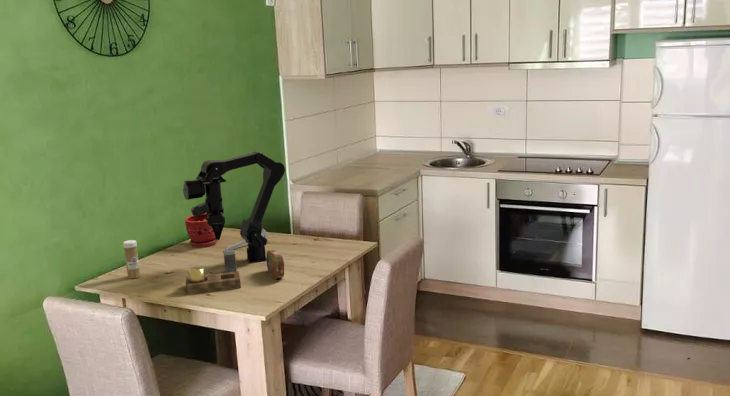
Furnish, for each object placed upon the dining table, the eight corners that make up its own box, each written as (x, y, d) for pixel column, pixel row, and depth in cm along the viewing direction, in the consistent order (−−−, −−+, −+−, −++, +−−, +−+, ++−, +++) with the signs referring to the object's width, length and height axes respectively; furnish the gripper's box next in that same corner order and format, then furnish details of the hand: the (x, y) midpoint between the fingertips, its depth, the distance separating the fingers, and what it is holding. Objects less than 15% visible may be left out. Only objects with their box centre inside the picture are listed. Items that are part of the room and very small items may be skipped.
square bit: (236, 269, 251) (234, 251, 249) (236, 272, 247) (235, 254, 246) (225, 270, 250) (223, 252, 249) (225, 273, 246) (223, 255, 245)
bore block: (239, 279, 240) (238, 271, 239) (240, 287, 231) (240, 279, 230) (186, 285, 236) (186, 277, 235) (186, 294, 227) (185, 285, 226)
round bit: (205, 285, 235) (203, 266, 234) (205, 289, 231) (203, 270, 229) (191, 287, 234) (189, 267, 233) (191, 291, 230) (189, 271, 228)
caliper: (266, 241, 286) (265, 227, 285) (267, 242, 285) (266, 227, 284) (222, 252, 274) (221, 237, 272) (224, 253, 273) (222, 238, 271)
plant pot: (190, 241, 292) (187, 214, 289) (221, 239, 292) (219, 212, 290) (185, 250, 279) (182, 221, 276) (217, 247, 280) (214, 219, 277)
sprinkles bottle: (133, 279, 245) (128, 243, 242) (124, 277, 247) (120, 242, 244) (143, 275, 248) (138, 240, 245) (135, 274, 251) (130, 239, 248)
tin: (266, 270, 249) (264, 247, 247) (274, 268, 250) (273, 246, 248) (277, 282, 235) (276, 258, 233) (286, 280, 236) (285, 257, 234)
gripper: (191, 192, 255) (195, 232, 258) (190, 202, 237) (195, 245, 240) (221, 189, 257) (225, 229, 260) (223, 199, 239) (227, 242, 243)
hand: (217, 236), depth 251 cm, fingers open, 9 cm apart
